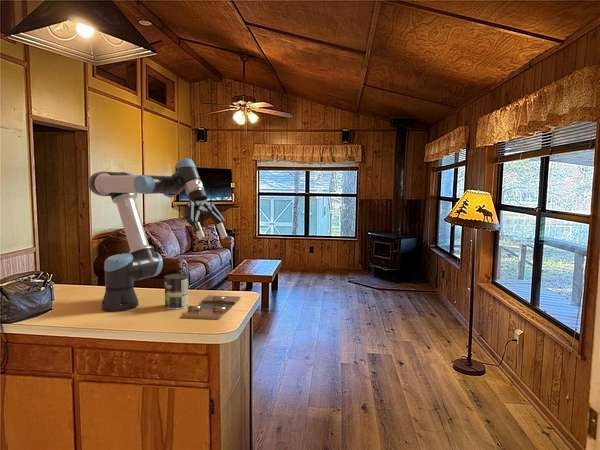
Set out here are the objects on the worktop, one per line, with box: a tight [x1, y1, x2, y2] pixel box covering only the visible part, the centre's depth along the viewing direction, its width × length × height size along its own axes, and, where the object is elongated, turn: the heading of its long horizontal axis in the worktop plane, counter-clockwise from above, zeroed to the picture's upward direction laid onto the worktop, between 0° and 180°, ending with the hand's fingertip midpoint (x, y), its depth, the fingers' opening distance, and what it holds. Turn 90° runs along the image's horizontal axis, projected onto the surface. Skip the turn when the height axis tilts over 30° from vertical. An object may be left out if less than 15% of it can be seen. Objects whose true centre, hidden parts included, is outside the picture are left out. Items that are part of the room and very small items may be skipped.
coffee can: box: [163, 273, 189, 311], centre depth 180 cm, size 10×10×14 cm
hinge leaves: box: [181, 294, 241, 320], centre depth 178 cm, size 16×31×3 cm, turn 172°
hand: (213, 237), depth 162 cm, fingers open, 13 cm apart
